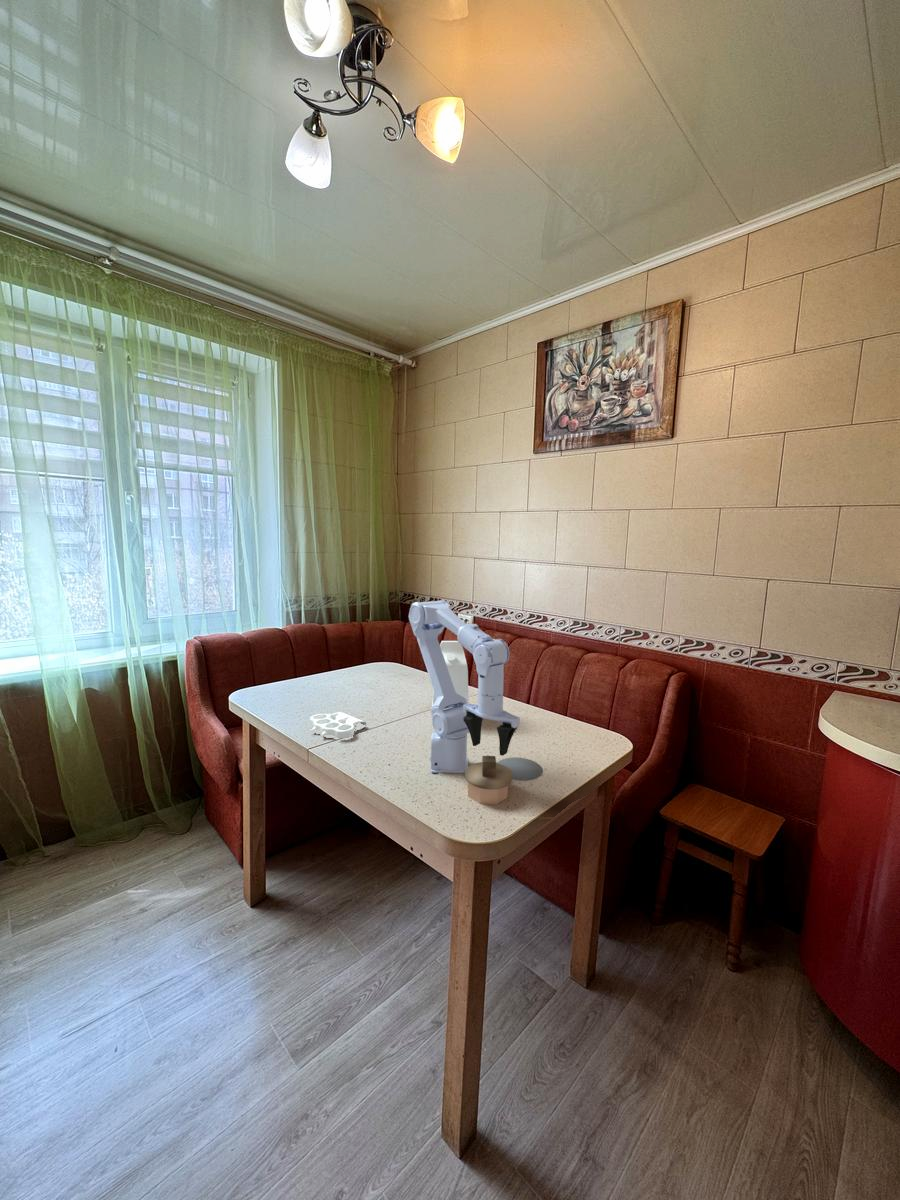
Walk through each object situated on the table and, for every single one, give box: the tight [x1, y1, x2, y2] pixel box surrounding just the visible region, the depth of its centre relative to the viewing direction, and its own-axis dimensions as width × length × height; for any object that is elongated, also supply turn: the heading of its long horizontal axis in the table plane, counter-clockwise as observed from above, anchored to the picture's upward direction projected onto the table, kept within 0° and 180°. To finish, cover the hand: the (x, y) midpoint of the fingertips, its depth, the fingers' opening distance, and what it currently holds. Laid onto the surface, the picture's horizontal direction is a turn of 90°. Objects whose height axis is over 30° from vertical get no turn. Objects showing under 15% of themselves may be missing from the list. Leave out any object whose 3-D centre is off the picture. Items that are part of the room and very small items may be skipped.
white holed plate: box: [309, 711, 367, 738], centre depth 139 cm, size 3×18×15 cm
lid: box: [464, 755, 514, 789], centre depth 103 cm, size 11×11×4 cm
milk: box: [431, 640, 470, 710], centre depth 148 cm, size 12×12×26 cm
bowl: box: [466, 781, 509, 805], centre depth 104 cm, size 9×9×4 cm
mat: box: [497, 756, 544, 782], centre depth 115 cm, size 12×12×1 cm
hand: (489, 749), depth 105 cm, fingers open, 7 cm apart
